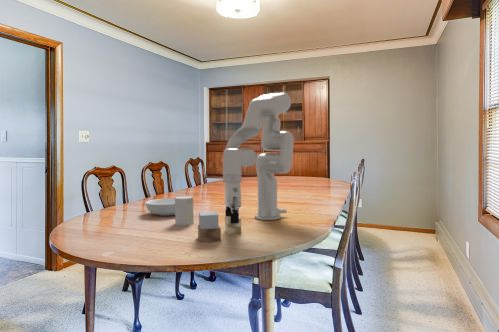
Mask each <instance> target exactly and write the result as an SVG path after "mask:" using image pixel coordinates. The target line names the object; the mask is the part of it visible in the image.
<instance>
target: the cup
mask: <svg viewBox="0 0 499 332" xmlns="http://www.w3.org/2000/svg"><path fill="white" fill-rule="evenodd" d="M174 199H175V214H174V217H175V220H174V221H175V225H176V226H180V227H181V226H182V227H183V226H184V227H185V226H191V225H194V221H195V220H194V196H191V195H181V196H176V197H175V196H174Z"/></svg>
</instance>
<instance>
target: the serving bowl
mask: <svg viewBox="0 0 499 332" xmlns="http://www.w3.org/2000/svg"><path fill="white" fill-rule="evenodd" d="M145 206H146V209H147V210H148V212H150V214H153V215H156V216H157V215H158V216H161V217H169V215H170V216H175V198H159V199H158V198H157V199H156V198H155V199H150V200H148V201H146V202H145Z"/></svg>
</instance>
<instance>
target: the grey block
mask: <svg viewBox="0 0 499 332" xmlns="http://www.w3.org/2000/svg"><path fill="white" fill-rule="evenodd" d="M198 225H199V226H200V229H214V228H218V225H219V214H218V213H217V211H216V210H215V211H200V212H198Z"/></svg>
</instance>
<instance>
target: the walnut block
mask: <svg viewBox="0 0 499 332" xmlns="http://www.w3.org/2000/svg"><path fill="white" fill-rule="evenodd" d="M197 230H198V231H197V237H198V239H199V242H200V243H201V244H202V243H203V244H204V243H213V242H215V243H216V242H222V231H221V227H220V225H219V224H218V228H214V229H200V226H199V224H198V225H197Z"/></svg>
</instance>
